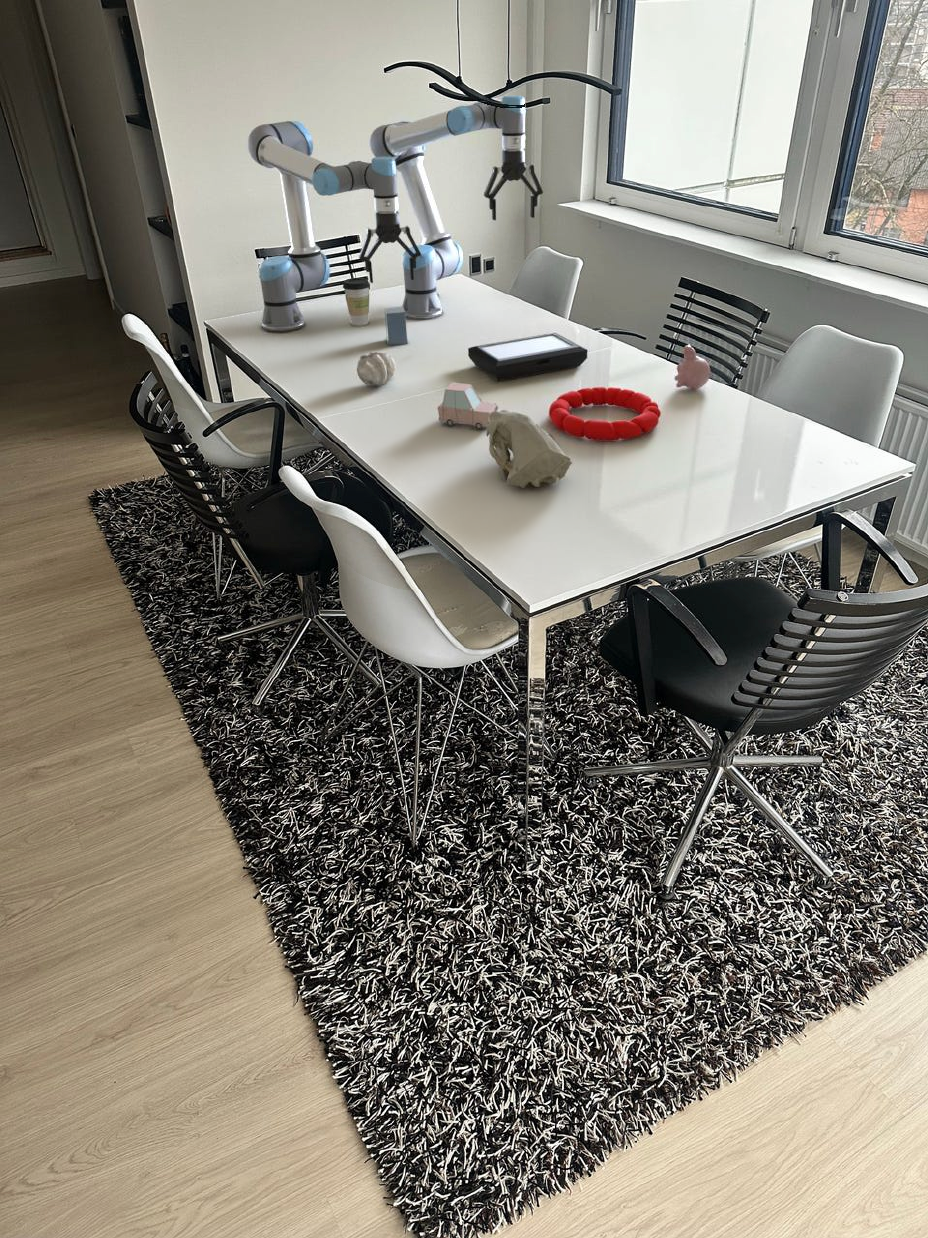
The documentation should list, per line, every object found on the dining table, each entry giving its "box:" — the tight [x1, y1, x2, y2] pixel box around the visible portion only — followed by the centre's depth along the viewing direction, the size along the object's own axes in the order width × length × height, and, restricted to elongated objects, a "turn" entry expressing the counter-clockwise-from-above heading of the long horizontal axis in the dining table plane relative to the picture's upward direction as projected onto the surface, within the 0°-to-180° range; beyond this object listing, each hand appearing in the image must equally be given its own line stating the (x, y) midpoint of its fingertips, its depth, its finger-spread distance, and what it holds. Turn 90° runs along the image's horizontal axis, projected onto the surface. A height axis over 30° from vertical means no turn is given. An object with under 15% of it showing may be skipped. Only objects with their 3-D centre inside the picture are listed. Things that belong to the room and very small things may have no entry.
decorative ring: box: [548, 386, 661, 442], centre depth 242 cm, size 7×30×30 cm
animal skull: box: [485, 409, 573, 489], centre depth 216 cm, size 17×25×20 cm
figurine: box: [674, 344, 711, 390], centre depth 259 cm, size 9×11×12 cm
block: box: [383, 306, 408, 346], centre depth 305 cm, size 7×6×11 cm
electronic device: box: [467, 332, 588, 382], centre depth 281 cm, size 32×6×20 cm
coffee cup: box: [342, 277, 371, 327], centre depth 323 cm, size 10×10×15 cm
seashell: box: [356, 351, 396, 386], centre depth 270 cm, size 10×15×10 cm
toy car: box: [437, 382, 499, 431], centre depth 243 cm, size 9×15×10 cm, turn 70°
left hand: (391, 280), depth 296 cm, fingers open, 13 cm apart
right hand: (513, 218), depth 308 cm, fingers open, 13 cm apart
